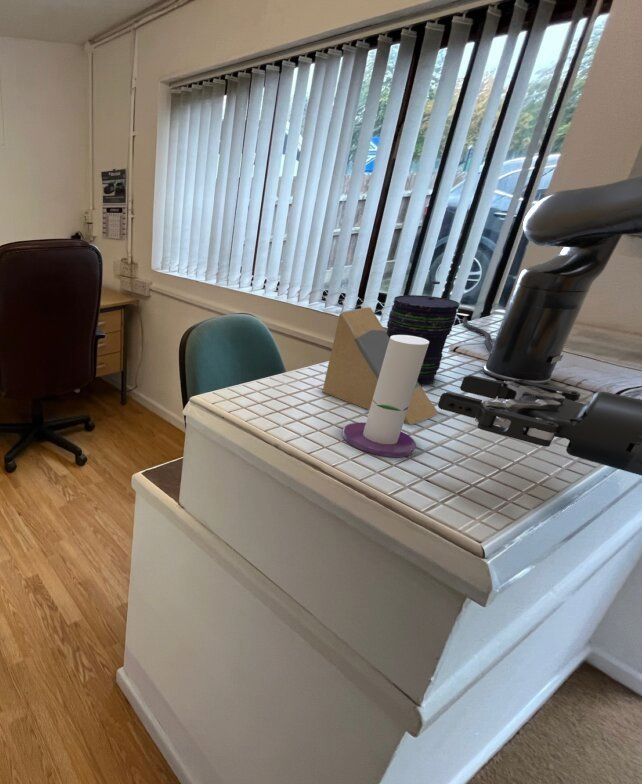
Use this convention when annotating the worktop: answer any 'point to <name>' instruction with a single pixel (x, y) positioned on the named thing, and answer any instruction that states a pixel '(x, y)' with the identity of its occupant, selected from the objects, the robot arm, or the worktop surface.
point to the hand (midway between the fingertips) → (451, 390)
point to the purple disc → (358, 440)
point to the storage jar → (424, 326)
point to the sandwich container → (365, 364)
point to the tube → (395, 388)
